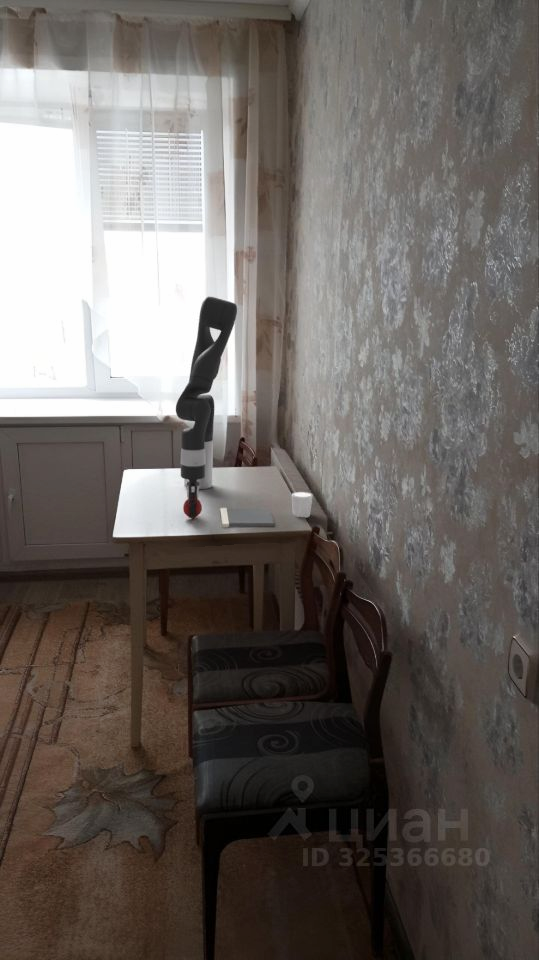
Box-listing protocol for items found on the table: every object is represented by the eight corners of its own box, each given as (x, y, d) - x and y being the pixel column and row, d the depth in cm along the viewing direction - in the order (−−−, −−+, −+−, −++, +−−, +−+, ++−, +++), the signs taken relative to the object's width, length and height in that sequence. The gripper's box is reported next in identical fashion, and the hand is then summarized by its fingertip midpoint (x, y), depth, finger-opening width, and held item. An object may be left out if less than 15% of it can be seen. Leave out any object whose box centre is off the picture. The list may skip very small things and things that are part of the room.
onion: (198, 522, 232) (198, 498, 230) (180, 521, 233) (180, 496, 231) (203, 517, 237) (204, 492, 235) (186, 515, 238) (186, 491, 236)
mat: (222, 527, 228) (222, 523, 228) (220, 511, 244) (220, 507, 243) (274, 527, 230) (274, 523, 230) (269, 511, 245) (269, 507, 245)
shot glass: (289, 511, 246) (290, 491, 244) (310, 511, 246) (311, 491, 244) (292, 518, 239) (292, 497, 237) (313, 518, 240) (314, 497, 238)
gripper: (205, 468, 224) (205, 519, 228) (204, 456, 237) (204, 505, 242) (180, 468, 223) (180, 519, 227) (180, 456, 236) (180, 505, 241)
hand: (192, 512), depth 234 cm, fingers open, 8 cm apart
